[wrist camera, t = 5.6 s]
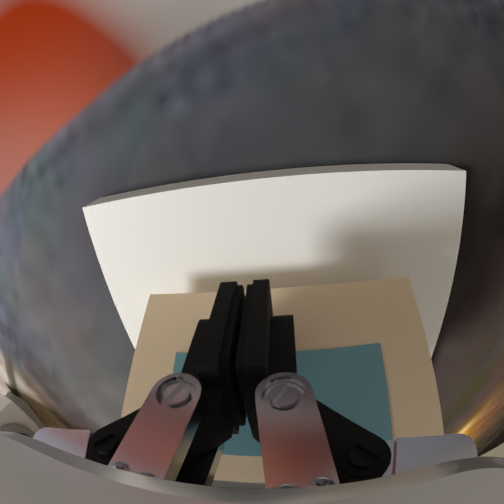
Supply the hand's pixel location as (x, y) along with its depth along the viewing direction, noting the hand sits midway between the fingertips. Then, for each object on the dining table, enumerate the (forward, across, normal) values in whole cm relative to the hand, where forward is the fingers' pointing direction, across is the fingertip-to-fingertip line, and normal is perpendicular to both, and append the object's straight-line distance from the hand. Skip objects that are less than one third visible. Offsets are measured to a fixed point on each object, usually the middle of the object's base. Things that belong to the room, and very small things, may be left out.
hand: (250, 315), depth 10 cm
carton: (0, -1, +7) cm, 7 cm away
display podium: (+6, -1, +5) cm, 8 cm away
